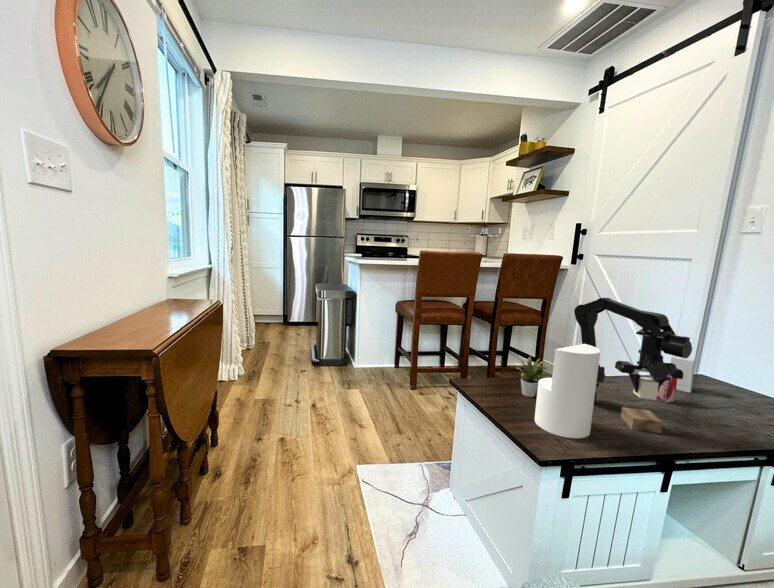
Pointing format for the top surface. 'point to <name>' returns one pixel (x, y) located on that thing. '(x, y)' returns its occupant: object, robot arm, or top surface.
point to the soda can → (667, 391)
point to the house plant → (531, 377)
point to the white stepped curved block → (569, 392)
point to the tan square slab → (641, 420)
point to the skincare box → (684, 372)
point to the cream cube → (647, 388)
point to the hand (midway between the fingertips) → (644, 393)
